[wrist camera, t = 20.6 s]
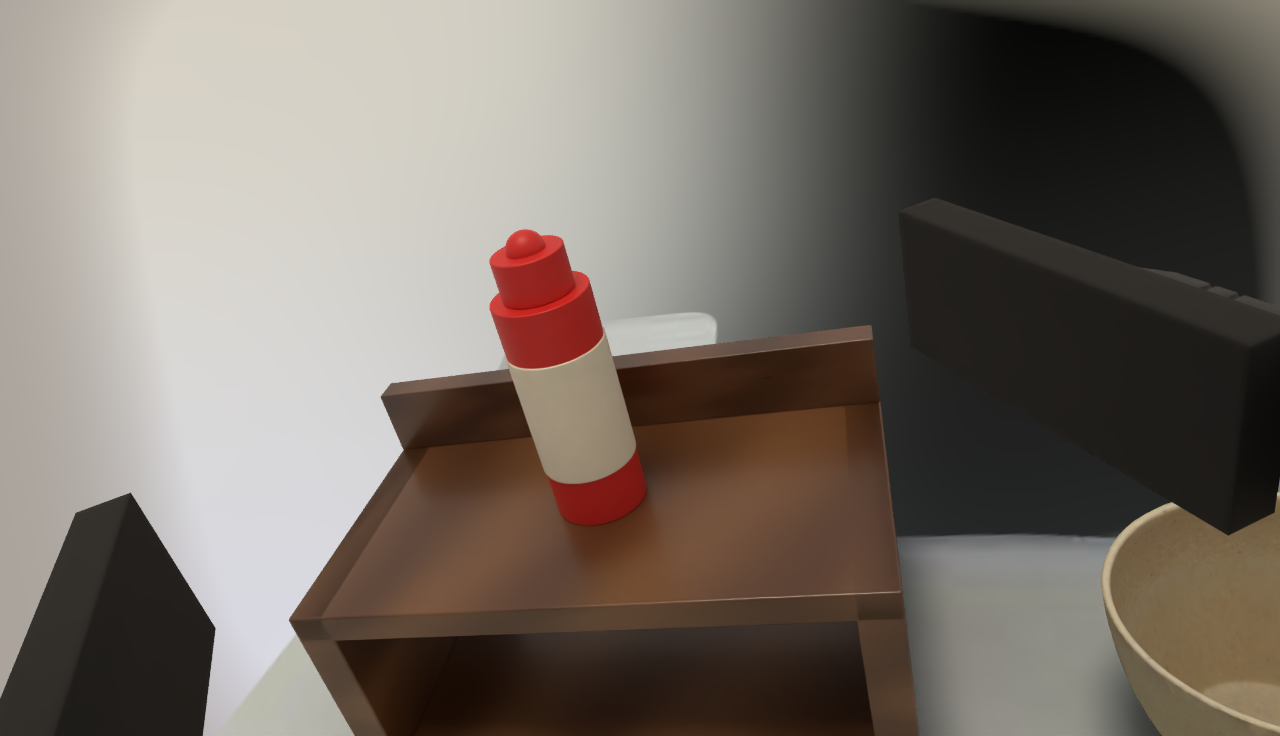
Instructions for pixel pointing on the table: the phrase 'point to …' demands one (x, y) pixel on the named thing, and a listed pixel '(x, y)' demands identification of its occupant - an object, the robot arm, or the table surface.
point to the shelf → (631, 562)
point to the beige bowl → (1198, 622)
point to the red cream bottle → (566, 380)
